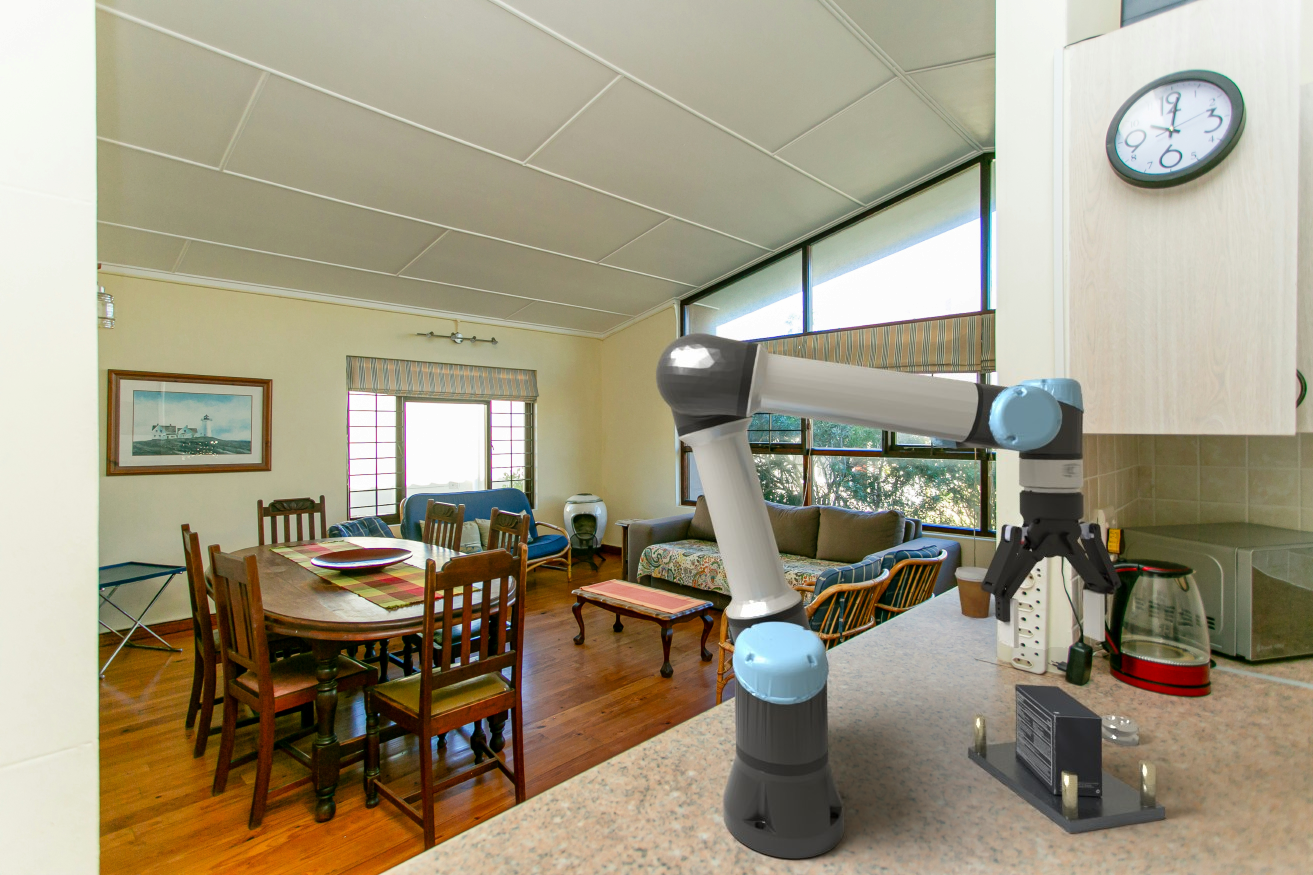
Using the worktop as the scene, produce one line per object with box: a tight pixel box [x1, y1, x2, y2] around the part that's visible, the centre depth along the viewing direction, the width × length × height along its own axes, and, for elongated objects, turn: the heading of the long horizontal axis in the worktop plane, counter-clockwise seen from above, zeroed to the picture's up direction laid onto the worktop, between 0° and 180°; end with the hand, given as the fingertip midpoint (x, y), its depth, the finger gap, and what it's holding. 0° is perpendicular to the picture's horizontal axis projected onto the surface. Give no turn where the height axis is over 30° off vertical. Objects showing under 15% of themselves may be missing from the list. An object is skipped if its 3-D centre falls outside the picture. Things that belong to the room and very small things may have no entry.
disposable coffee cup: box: [954, 566, 992, 619], centre depth 162 cm, size 10×10×12 cm
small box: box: [1014, 683, 1103, 796], centre depth 84 cm, size 11×6×10 cm, turn 175°
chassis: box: [967, 714, 1166, 835], centre depth 84 cm, size 14×18×6 cm
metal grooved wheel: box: [1100, 714, 1140, 748], centre depth 96 cm, size 5×3×5 cm
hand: (1052, 641), depth 84 cm, fingers open, 13 cm apart
